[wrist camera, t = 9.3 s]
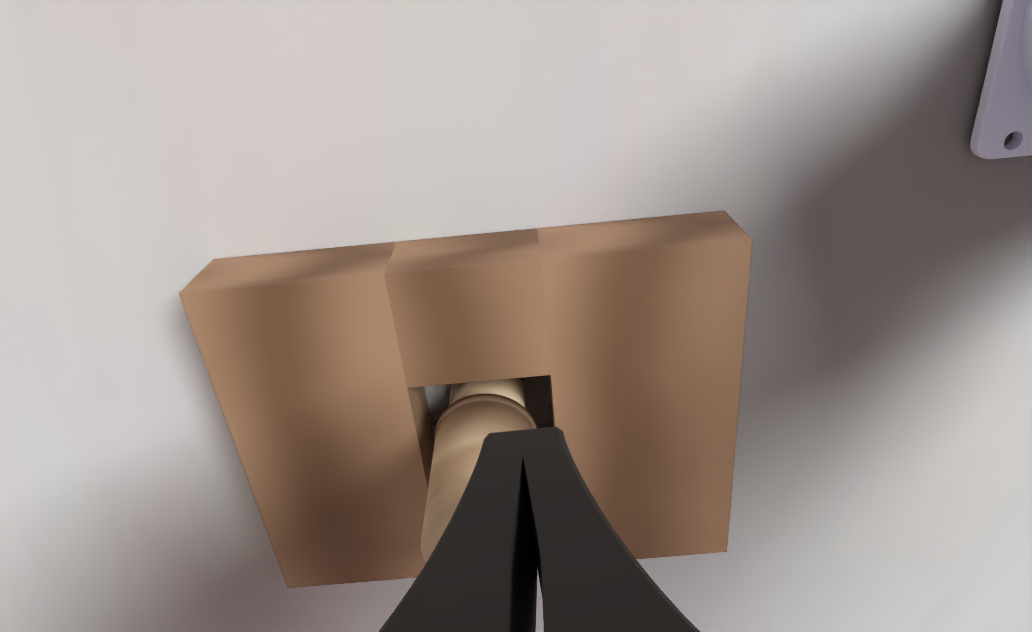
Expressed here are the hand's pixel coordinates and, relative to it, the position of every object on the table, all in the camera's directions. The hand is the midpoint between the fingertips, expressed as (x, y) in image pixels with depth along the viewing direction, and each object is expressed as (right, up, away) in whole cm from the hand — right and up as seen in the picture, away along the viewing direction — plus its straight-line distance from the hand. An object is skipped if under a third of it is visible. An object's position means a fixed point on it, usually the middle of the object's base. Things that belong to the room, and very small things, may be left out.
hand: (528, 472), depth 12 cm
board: (-1, 0, +11) cm, 11 cm away
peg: (-1, 0, +11) cm, 11 cm away
